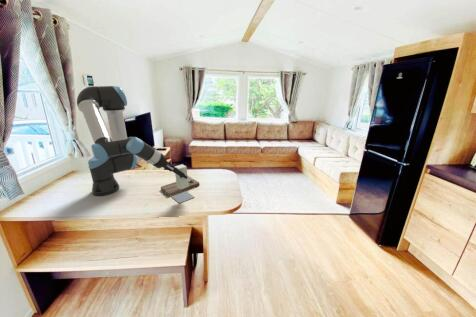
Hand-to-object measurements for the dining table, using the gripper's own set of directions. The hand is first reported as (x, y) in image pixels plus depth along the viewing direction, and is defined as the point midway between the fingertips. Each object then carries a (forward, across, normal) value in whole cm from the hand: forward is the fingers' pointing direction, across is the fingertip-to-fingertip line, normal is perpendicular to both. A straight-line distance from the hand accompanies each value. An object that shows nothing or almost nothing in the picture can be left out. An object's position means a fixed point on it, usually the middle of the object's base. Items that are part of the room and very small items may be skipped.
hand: (187, 178), depth 124 cm
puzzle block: (0, 0, -6) cm, 6 cm away
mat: (+6, -1, -11) cm, 13 cm away
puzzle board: (+9, -14, -7) cm, 18 cm away
